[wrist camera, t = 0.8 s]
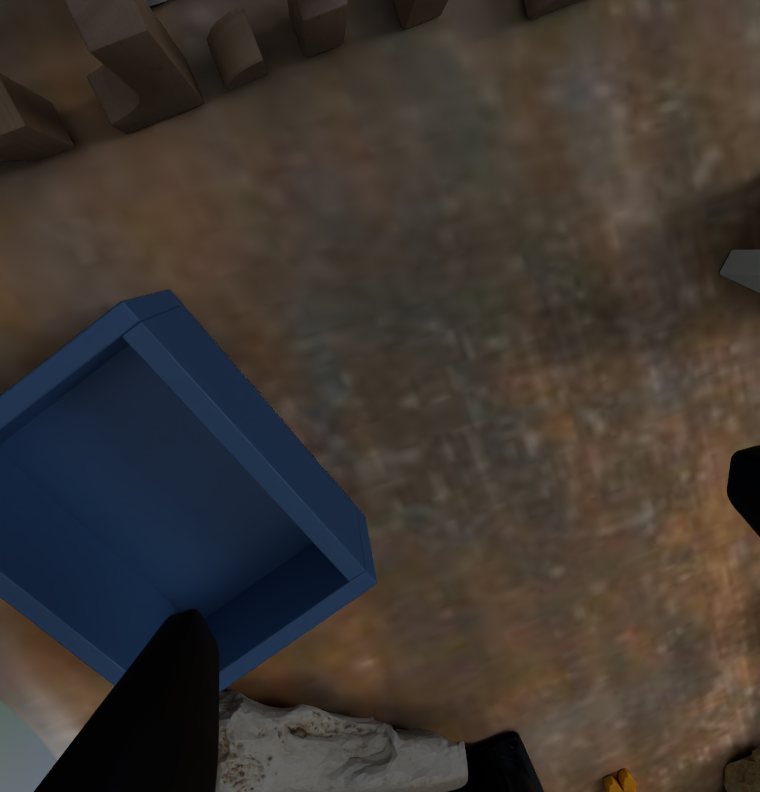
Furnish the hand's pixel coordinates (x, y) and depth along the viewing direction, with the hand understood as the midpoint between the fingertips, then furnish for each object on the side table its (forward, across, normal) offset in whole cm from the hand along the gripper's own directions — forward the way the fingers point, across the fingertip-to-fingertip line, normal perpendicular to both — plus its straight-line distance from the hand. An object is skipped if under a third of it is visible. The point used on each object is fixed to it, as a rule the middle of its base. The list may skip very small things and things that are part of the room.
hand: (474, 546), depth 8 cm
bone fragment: (+12, +7, +21) cm, 25 cm away
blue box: (+14, +10, +5) cm, 18 cm away
